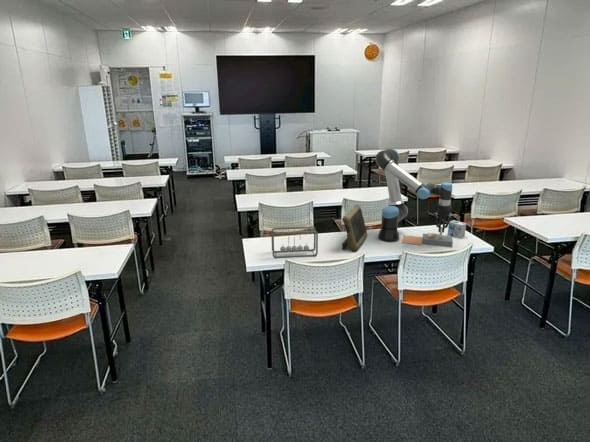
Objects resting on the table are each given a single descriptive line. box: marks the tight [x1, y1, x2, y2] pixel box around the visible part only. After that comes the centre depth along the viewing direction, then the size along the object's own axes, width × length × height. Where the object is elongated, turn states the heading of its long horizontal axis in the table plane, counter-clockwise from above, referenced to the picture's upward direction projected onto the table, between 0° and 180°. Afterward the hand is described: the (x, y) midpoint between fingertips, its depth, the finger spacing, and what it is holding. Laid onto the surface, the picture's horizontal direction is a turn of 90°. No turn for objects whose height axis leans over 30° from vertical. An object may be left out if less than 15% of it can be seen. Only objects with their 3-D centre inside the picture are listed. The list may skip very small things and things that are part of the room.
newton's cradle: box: [270, 226, 319, 259], centre depth 266 cm, size 30×10×18 cm, turn 96°
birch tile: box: [427, 232, 440, 239], centre depth 286 cm, size 8×6×2 cm
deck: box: [422, 233, 454, 248], centre depth 287 cm, size 20×12×4 cm, turn 72°
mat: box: [401, 234, 423, 246], centre depth 292 cm, size 14×16×1 cm
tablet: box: [341, 204, 368, 253], centre depth 283 cm, size 33×14×25 cm, turn 162°
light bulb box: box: [446, 219, 467, 239], centre depth 299 cm, size 11×7×11 cm, turn 43°
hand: (440, 236), depth 285 cm, fingers closed
